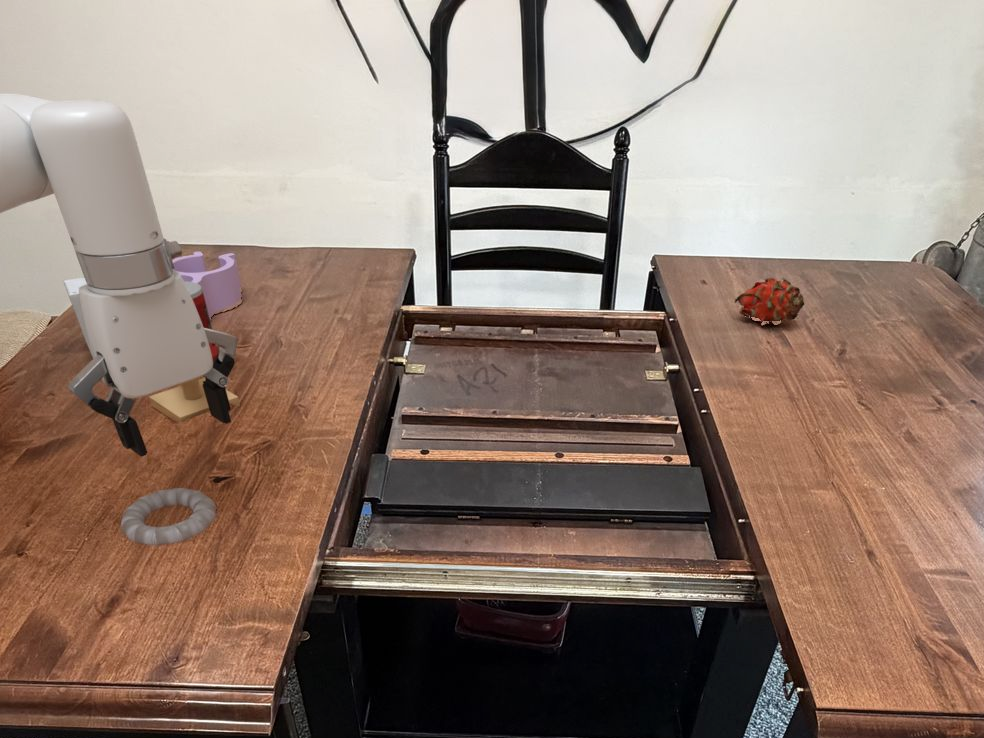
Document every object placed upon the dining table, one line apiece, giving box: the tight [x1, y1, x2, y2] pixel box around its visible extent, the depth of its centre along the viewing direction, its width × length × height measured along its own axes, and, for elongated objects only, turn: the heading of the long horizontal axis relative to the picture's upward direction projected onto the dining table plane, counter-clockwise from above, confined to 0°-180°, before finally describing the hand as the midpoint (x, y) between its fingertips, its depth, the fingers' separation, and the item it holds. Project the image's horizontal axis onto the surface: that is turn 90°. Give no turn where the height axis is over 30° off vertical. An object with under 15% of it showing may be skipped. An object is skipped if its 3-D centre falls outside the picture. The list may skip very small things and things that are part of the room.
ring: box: [120, 487, 217, 546], centre depth 80 cm, size 10×10×2 cm
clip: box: [173, 251, 243, 318], centre depth 130 cm, size 20×12×7 cm, turn 173°
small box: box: [62, 276, 94, 360], centre depth 113 cm, size 8×6×10 cm
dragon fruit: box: [734, 277, 806, 323], centre depth 128 cm, size 8×8×12 cm
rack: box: [148, 377, 241, 424], centre depth 99 cm, size 9×9×12 cm
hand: (181, 434), depth 76 cm, fingers open, 9 cm apart
